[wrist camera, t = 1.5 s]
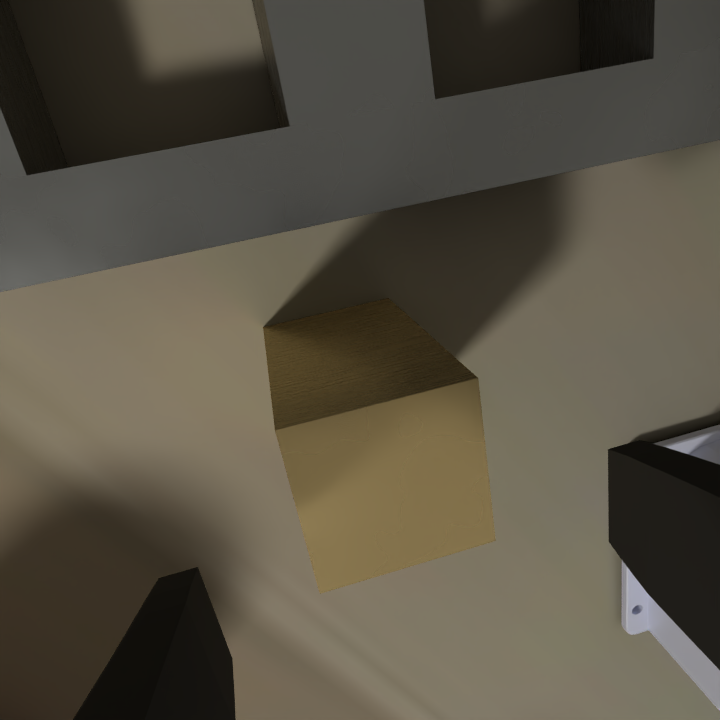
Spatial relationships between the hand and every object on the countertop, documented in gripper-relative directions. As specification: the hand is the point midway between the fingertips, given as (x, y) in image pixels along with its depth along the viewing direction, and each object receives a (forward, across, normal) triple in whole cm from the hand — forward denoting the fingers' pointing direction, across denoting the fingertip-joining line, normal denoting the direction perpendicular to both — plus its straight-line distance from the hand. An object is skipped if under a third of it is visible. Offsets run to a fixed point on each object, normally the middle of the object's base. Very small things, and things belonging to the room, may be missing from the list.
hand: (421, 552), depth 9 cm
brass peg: (+9, 0, 0) cm, 9 cm away
